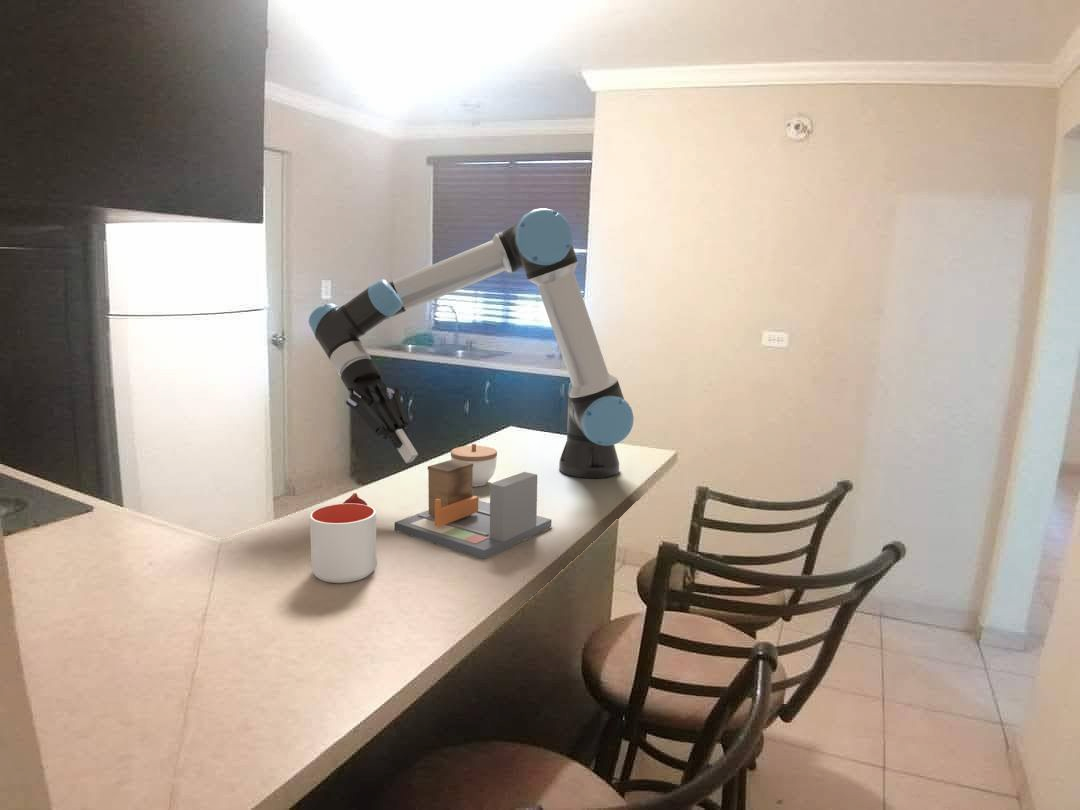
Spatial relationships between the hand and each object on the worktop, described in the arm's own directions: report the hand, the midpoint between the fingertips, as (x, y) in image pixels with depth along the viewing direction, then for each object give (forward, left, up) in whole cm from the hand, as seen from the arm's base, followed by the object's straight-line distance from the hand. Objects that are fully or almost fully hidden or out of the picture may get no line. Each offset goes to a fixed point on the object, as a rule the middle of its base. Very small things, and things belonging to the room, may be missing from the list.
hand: (412, 458), depth 138 cm
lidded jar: (-23, -4, -11) cm, 26 cm away
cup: (+28, +13, -11) cm, 32 cm away
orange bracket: (+2, +14, -9) cm, 17 cm away
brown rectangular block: (0, +10, -9) cm, 14 cm away
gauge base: (0, +16, -11) cm, 20 cm away
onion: (+16, +1, -11) cm, 19 cm away
